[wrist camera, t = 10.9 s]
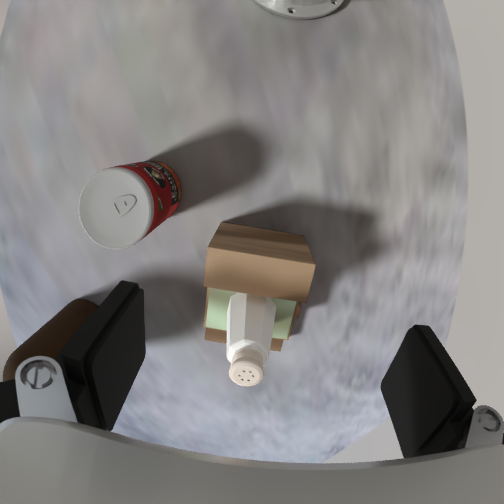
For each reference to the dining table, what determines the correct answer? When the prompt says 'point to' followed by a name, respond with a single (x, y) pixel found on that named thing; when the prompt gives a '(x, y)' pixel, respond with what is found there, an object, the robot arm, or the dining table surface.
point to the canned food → (128, 202)
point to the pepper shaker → (249, 336)
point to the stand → (256, 276)
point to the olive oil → (50, 336)
